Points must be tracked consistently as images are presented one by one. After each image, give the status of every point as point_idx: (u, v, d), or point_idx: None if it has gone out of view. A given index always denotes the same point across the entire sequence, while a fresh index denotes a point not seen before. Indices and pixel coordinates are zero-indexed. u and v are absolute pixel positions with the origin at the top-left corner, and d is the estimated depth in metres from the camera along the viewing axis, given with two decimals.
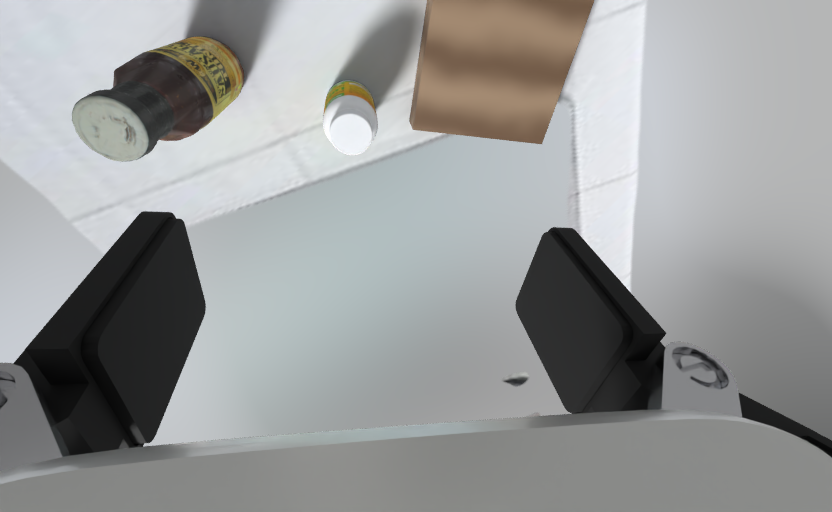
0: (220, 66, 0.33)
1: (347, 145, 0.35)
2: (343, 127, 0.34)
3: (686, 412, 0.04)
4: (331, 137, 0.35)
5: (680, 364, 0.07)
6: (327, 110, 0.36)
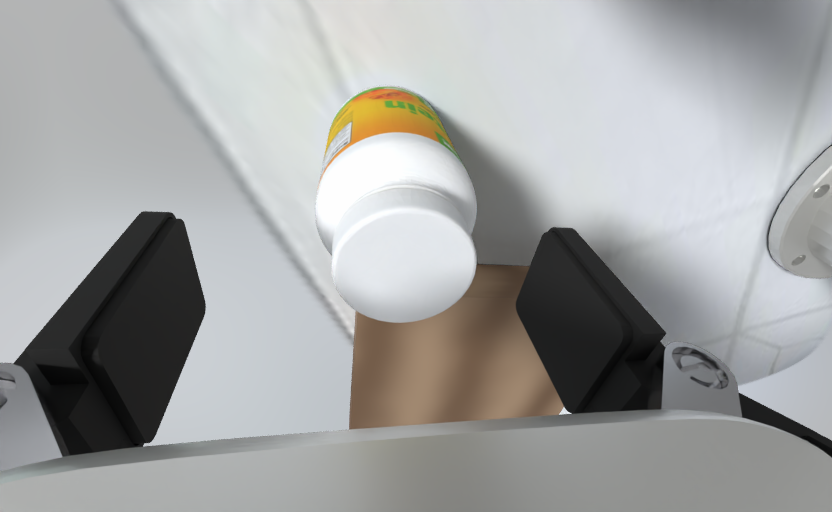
0: None
1: (367, 263, 0.10)
2: (434, 252, 0.10)
3: (686, 412, 0.04)
4: (397, 215, 0.09)
5: (680, 364, 0.07)
6: (447, 159, 0.11)
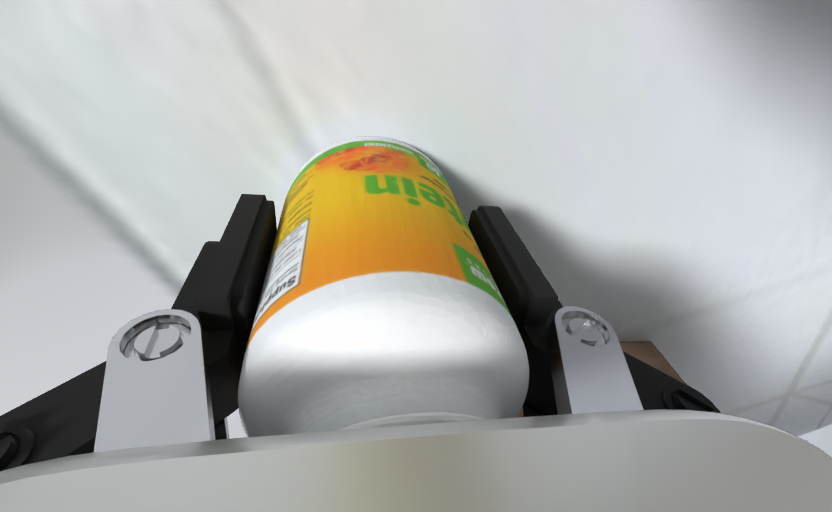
0: None
1: None
2: None
3: (686, 412, 0.04)
4: None
5: (570, 330, 0.07)
6: (484, 323, 0.06)
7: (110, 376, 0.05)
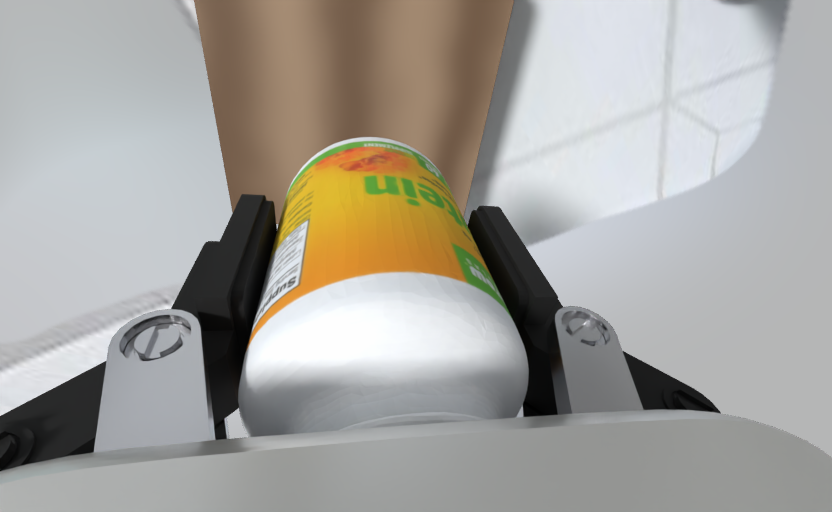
0: None
1: None
2: None
3: (686, 412, 0.04)
4: None
5: (570, 330, 0.07)
6: (484, 323, 0.06)
7: (110, 376, 0.05)
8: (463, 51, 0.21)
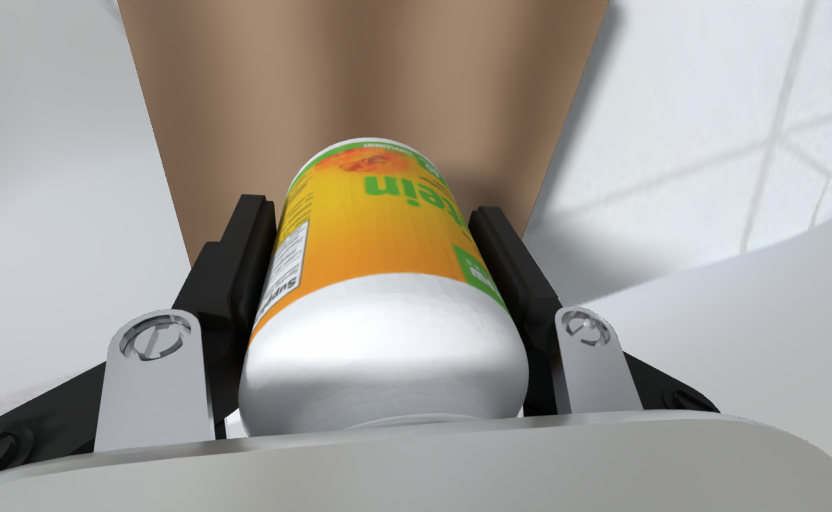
0: None
1: None
2: None
3: (686, 412, 0.04)
4: None
5: (570, 329, 0.07)
6: (484, 324, 0.06)
7: (110, 376, 0.05)
8: (526, 77, 0.14)
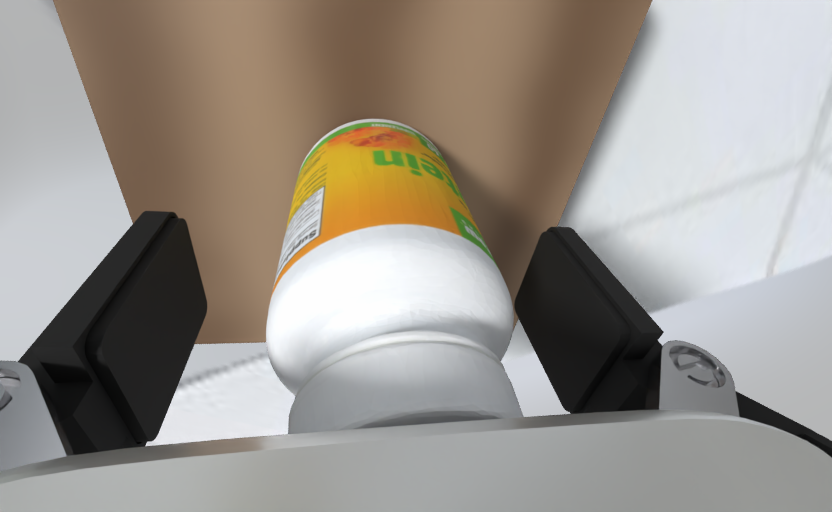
0: None
1: None
2: None
3: (686, 412, 0.04)
4: (402, 421, 0.05)
5: (677, 363, 0.07)
6: (475, 267, 0.07)
7: None
8: (548, 99, 0.12)
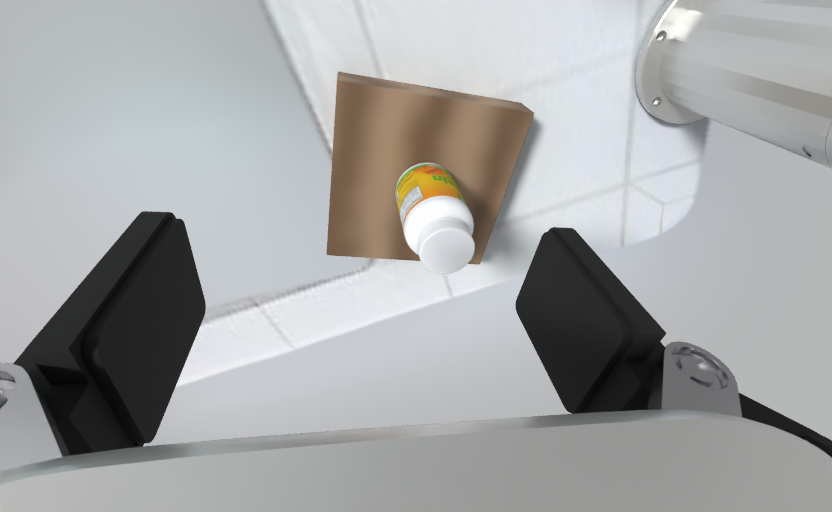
0: None
1: (434, 248, 0.26)
2: (459, 244, 0.26)
3: (686, 412, 0.04)
4: (448, 230, 0.25)
5: (680, 364, 0.07)
6: (463, 207, 0.27)
7: None
8: (493, 157, 0.33)
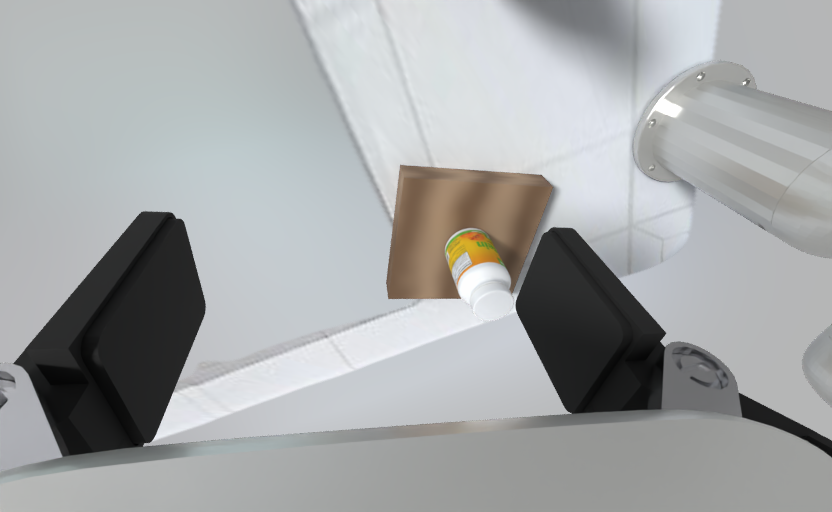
0: None
1: (484, 304, 0.35)
2: (502, 301, 0.35)
3: (686, 412, 0.04)
4: (495, 292, 0.34)
5: (680, 364, 0.07)
6: (503, 270, 0.36)
7: None
8: (521, 220, 0.42)
